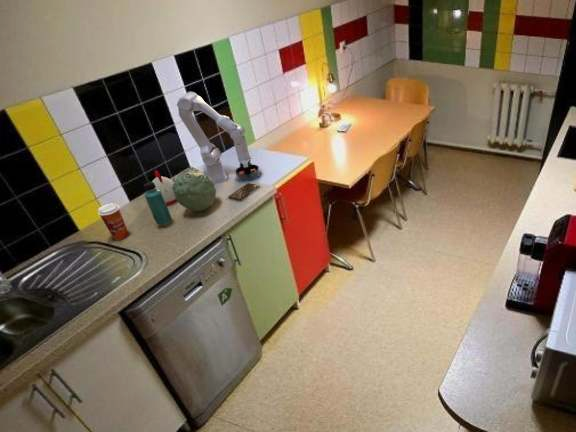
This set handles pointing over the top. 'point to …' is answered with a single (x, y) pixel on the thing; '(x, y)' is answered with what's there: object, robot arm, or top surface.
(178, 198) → the cabbage
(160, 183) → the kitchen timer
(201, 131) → the robot arm
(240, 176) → the dark blue bowl
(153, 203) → the beverage bottle
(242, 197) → the board
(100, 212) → the paper cup
